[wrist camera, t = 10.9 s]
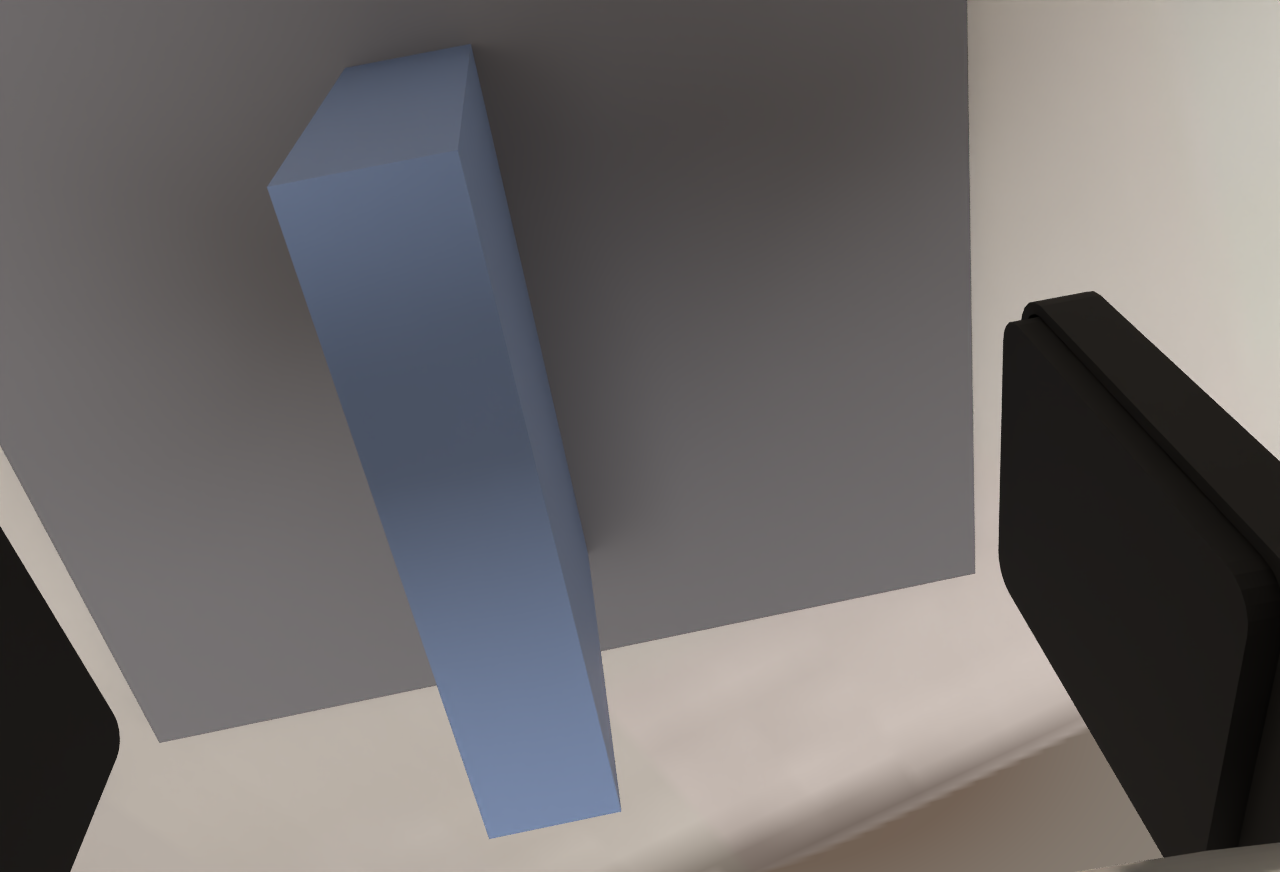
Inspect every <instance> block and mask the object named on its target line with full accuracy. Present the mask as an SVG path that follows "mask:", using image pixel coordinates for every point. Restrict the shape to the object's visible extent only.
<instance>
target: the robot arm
mask: <svg viewBox="0 0 1280 872" xmlns="http://www.w3.org/2000/svg"><path fill="white" fill-rule="evenodd" d="M998 551H999V563H1000V569H1001V573H1002V576H1003V579H1004V582H1005V585H1006V587H1007V589H1008V591H1009V593H1010V595H1011V597H1012V599H1013V600H1014V602H1015V604H1016V605H1017V607H1018V609H1019V611H1020V612H1021V614H1022V616H1023V617H1024V619H1025V621H1026V623H1027V624H1028V626H1029V628H1030V629H1031V631H1032V633H1033V635H1034V636H1035V638H1036V640H1037V641H1038V643H1039V645H1040V647H1041V648H1042V650H1043V652H1044V653H1045V655H1046V657H1047V659H1048V660H1049V662H1050V664H1051V665H1052V667H1053V669H1054V670H1055V672H1056V674H1057V676H1058V677H1059V679H1060V681H1061V682H1062V684H1063V686H1064V688H1065V689H1066V691H1067V693H1068V694H1069V696H1070V698H1071V700H1072V701H1073V703H1074V705H1075V706H1076V708H1077V710H1078V712H1079V713H1080V715H1081V717H1082V718H1083V720H1084V722H1085V724H1086V725H1087V727H1088V729H1089V730H1090V732H1091V734H1092V735H1093V737H1094V739H1095V741H1096V742H1097V744H1098V746H1099V748H1100V749H1101V751H1102V753H1103V754H1104V756H1105V758H1106V760H1107V761H1108V763H1109V764H1110V766H1111V768H1112V770H1113V771H1114V773H1115V775H1116V777H1117V778H1118V780H1119V782H1120V783H1121V785H1122V787H1123V788H1124V790H1125V792H1126V794H1127V795H1128V797H1129V799H1130V801H1131V802H1132V804H1133V806H1134V807H1135V809H1136V811H1137V812H1138V814H1139V816H1140V818H1141V819H1142V821H1143V823H1144V825H1145V826H1146V828H1147V830H1148V831H1149V833H1150V835H1151V837H1152V838H1153V840H1154V842H1155V843H1156V845H1157V847H1158V849H1159V850H1160V852H1161V854H1162V855H1163V857H1164V858H1159V859H1154V860H1146V861H1140V862H1134V863H1128V864H1121V865H1115V866H1109V867H1103V868H1096V869H1090V870H1084V871H1078V872H1280V461H1279V460H1278V459H1277V458H1276V457H1275V456H1273V455H1272V454H1271V453H1270V452H1269V451H1268V450H1267V449H1266V448H1265V447H1264V446H1263V445H1262V444H1260V443H1259V442H1258V441H1257V440H1256V439H1255V438H1254V437H1253V436H1252V435H1251V434H1250V433H1249V432H1248V431H1246V430H1245V429H1244V428H1243V427H1242V426H1241V425H1240V424H1239V423H1238V422H1237V421H1236V420H1235V419H1233V418H1232V417H1231V416H1230V415H1229V414H1228V413H1227V412H1226V411H1225V410H1224V409H1223V408H1222V407H1221V406H1219V405H1218V404H1217V403H1216V402H1215V401H1214V400H1213V399H1212V398H1211V397H1210V396H1209V395H1208V394H1207V393H1205V392H1204V391H1203V390H1202V389H1201V388H1200V387H1199V386H1198V385H1197V384H1196V383H1195V382H1194V381H1192V380H1191V379H1190V378H1189V377H1188V376H1187V375H1186V374H1185V373H1184V372H1183V371H1182V370H1181V369H1180V368H1178V367H1177V366H1176V365H1175V364H1174V363H1173V362H1172V361H1171V360H1170V359H1169V358H1168V357H1167V356H1165V355H1164V354H1163V353H1162V352H1161V351H1160V350H1159V349H1158V348H1157V347H1156V346H1155V345H1154V344H1153V343H1151V342H1150V341H1149V340H1148V339H1147V338H1146V337H1145V336H1144V335H1143V334H1142V333H1141V332H1140V331H1138V330H1137V329H1136V328H1135V327H1134V326H1133V325H1132V324H1131V323H1130V322H1129V321H1128V320H1127V319H1126V318H1124V317H1123V316H1122V315H1121V314H1120V313H1119V312H1118V311H1117V310H1116V309H1115V308H1114V307H1113V306H1111V305H1110V304H1109V303H1108V302H1107V301H1106V300H1105V299H1104V298H1103V297H1102V296H1101V295H1099V294H1097V293H1096V292H1094V291H1091V292H1084V293H1078V294H1073V295H1068V296H1062V297H1057V298H1052V299H1046V300H1041V301H1035V302H1030V303H1028V304H1027V306H1026V307H1025V308H1024V311H1023V314H1022V319H1021V320H1020V321H1014V322H1009V323H1008V324H1007V326H1006V328H1005V331H1004V339H1003V375H1002V419H1001V462H1000V506H999V549H998ZM119 744H120V736H119V728H118V724H117V720H116V718H115V716H114V714H113V712H112V711H111V709H110V707H109V706H108V704H107V702H106V701H105V699H104V697H103V696H102V694H101V692H100V691H99V689H98V687H97V686H96V684H95V682H94V681H93V679H92V677H91V676H90V674H89V673H88V671H87V669H86V668H85V666H84V664H83V663H82V661H81V659H80V658H79V656H78V654H77V653H76V651H75V649H74V648H73V646H72V644H71V643H70V641H69V639H68V638H67V636H66V634H65V633H64V631H63V629H62V628H61V626H60V625H59V623H58V621H57V620H56V618H55V616H54V615H53V613H52V611H51V610H50V608H49V606H48V605H47V603H46V601H45V600H44V598H43V596H42V595H41V593H40V591H39V590H38V588H37V586H36V585H35V583H34V581H33V580H32V578H31V576H30V575H29V573H28V572H27V570H26V568H25V567H24V565H23V563H22V562H21V560H20V558H19V557H18V555H17V553H16V552H15V550H14V548H13V547H12V545H11V543H10V542H9V540H8V538H7V537H6V535H5V533H4V532H3V530H2V528H1V527H0V872H70V871H71V869H72V866H73V864H74V861H75V859H76V856H77V854H78V851H79V849H80V846H81V844H82V842H83V839H84V837H85V834H86V832H87V829H88V827H89V824H90V822H91V819H92V817H93V815H94V812H95V810H96V807H97V805H98V802H99V800H100V797H101V795H102V793H103V790H104V788H105V785H106V783H107V780H108V778H109V775H110V773H111V770H112V768H113V766H114V763H115V761H116V758H117V755H118V751H119Z"/></svg>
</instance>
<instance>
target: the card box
mask: <svg viewBox="0 0 1280 872" xmlns="http://www.w3.org/2000/svg"><path fill="white" fill-rule="evenodd" d="M267 189H268V192H269V195H270V197H271V200H272V203H273V206H274V209H275V212H276V215H277V218H278V221H279V224H280V227H281V230H282V233H283V236H284V239H285V241H286V244H287V247H288V250H289V253H290V256H291V259H292V262H293V265H294V268H295V271H296V274H297V277H298V280H299V282H300V285H301V288H302V291H303V294H304V297H305V300H306V303H307V306H308V309H309V312H310V315H311V318H312V321H313V324H314V326H315V329H316V332H317V335H318V338H319V341H320V344H321V347H322V350H323V353H324V356H325V359H326V362H327V365H328V367H329V370H330V373H331V376H332V379H333V382H334V385H335V388H336V391H337V394H338V397H339V400H340V403H341V406H342V409H343V411H344V414H345V417H346V420H347V423H348V426H349V429H350V432H351V435H352V438H353V441H354V444H355V447H356V450H357V452H358V455H359V458H360V461H361V464H362V467H363V470H364V473H365V476H366V479H367V482H368V485H369V488H370V491H371V494H372V496H373V499H374V502H375V505H376V508H377V511H378V514H379V517H380V520H381V523H382V526H383V529H384V532H385V535H386V538H387V540H388V543H389V546H390V549H391V552H392V555H393V558H394V561H395V564H396V567H397V570H398V573H399V576H400V579H401V581H402V584H403V587H404V590H405V593H406V596H407V599H408V602H409V605H410V608H411V611H412V614H413V617H414V620H415V623H416V625H417V628H418V631H419V634H420V637H421V640H422V643H423V646H424V649H425V652H426V655H427V658H428V661H429V664H430V666H431V669H432V672H433V675H434V678H435V681H436V684H437V687H438V690H439V693H440V696H441V699H442V702H443V705H444V708H445V710H446V713H447V716H448V719H449V722H450V725H451V728H452V731H453V734H454V737H455V740H456V743H457V746H458V749H459V751H460V754H461V757H462V760H463V763H464V766H465V769H466V772H467V775H468V778H469V781H470V784H471V787H472V790H473V793H474V795H475V798H476V801H477V804H478V807H479V810H480V813H481V816H482V819H483V822H484V825H485V828H486V831H487V834H488V837H489V839H491V838H496V837H501V836H506V835H511V834H515V833H520V832H525V831H530V830H535V829H539V828H544V827H549V826H554V825H559V824H563V823H568V822H573V821H578V820H583V819H587V818H592V817H597V816H602V815H606V814H611V813H616V812H621V805H620V797H619V789H618V782H617V774H616V766H615V758H614V751H613V743H612V735H611V727H610V720H609V712H608V704H607V696H606V689H605V681H604V673H603V665H602V658H601V650H600V642H599V634H598V627H597V619H596V611H595V603H594V596H593V588H592V580H591V572H590V565H589V557H588V551H587V547H586V543H585V538H584V534H583V530H582V525H581V521H580V517H579V512H578V508H577V504H576V499H575V495H574V491H573V486H572V482H571V477H570V473H569V469H568V464H567V460H566V456H565V451H564V447H563V443H562V438H561V434H560V430H559V425H558V421H557V417H556V412H555V408H554V404H553V399H552V395H551V391H550V386H549V382H548V377H547V373H546V369H545V364H544V360H543V356H542V351H541V347H540V343H539V338H538V334H537V330H536V325H535V321H534V317H533V312H532V308H531V304H530V299H529V295H528V290H527V286H526V282H525V277H524V273H523V269H522V264H521V260H520V256H519V251H518V247H517V243H516V238H515V234H514V230H513V225H512V221H511V217H510V212H509V208H508V204H507V199H506V195H505V190H504V186H503V182H502V177H501V173H500V169H499V164H498V160H497V156H496V151H495V147H494V143H493V138H492V134H491V130H490V125H489V121H488V117H487V112H486V108H485V103H484V99H483V95H482V90H481V86H480V82H479V77H478V73H477V69H476V64H475V60H474V56H473V51H472V47H471V44H467V45H462V46H457V47H451V48H446V49H441V50H436V51H431V52H425V53H420V54H415V55H410V56H405V57H399V58H394V59H389V60H384V61H378V62H373V63H368V64H363V65H358V66H352V67H347V68H345V69H344V70H343V72H342V73H341V75H340V76H339V78H338V80H337V81H336V83H335V84H334V86H333V87H332V89H331V90H330V92H329V93H328V95H327V96H326V98H325V99H324V101H323V102H322V104H321V105H320V107H319V108H318V110H317V112H316V113H315V115H314V116H313V118H312V119H311V121H310V122H309V124H308V125H307V127H306V128H305V130H304V131H303V133H302V134H301V136H300V137H299V139H298V140H297V142H296V144H295V145H294V147H293V148H292V150H291V151H290V153H289V154H288V156H287V157H286V159H285V160H284V162H283V163H282V165H281V166H280V168H279V169H278V171H277V172H276V174H275V176H274V177H273V179H272V180H271V182H270V183H269V185H268V186H267Z"/></svg>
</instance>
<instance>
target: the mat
mask: <svg viewBox="0 0 1280 872" xmlns="http://www.w3.org/2000/svg"><path fill="white" fill-rule="evenodd" d="M467 44H471V47H472V51H473V56H474V60H475V64H476V69H477V73H478V77H479V82H480V86H481V90H482V95H483V99H484V103H485V108H486V112H487V117H488V121H489V125H490V130H491V134H492V138H493V143H494V147H495V151H496V156H497V160H498V164H499V169H500V173H501V177H502V182H503V186H504V190H505V195H506V199H507V204H508V208H509V212H510V217H511V221H512V225H513V230H514V234H515V238H516V243H517V247H518V251H519V256H520V260H521V264H522V269H523V273H524V277H525V282H526V286H527V290H528V295H529V299H530V304H531V308H532V312H533V317H534V321H535V325H536V330H537V334H538V338H539V343H540V347H541V351H542V356H543V360H544V364H545V369H546V373H547V377H548V382H549V386H550V391H551V395H552V399H553V404H554V408H555V412H556V417H557V421H558V425H559V430H560V434H561V438H562V443H563V447H564V451H565V456H566V460H567V464H568V469H569V473H570V477H571V482H572V486H573V491H574V495H575V499H576V504H577V508H578V512H579V517H580V521H581V525H582V530H583V534H584V538H585V543H586V547H587V551H588V557H589V565H590V572H591V580H592V588H593V596H594V603H595V611H596V619H597V627H598V634H599V642H600V650H601V651H604V650H609V649H614V648H619V647H623V646H628V645H633V644H638V643H643V642H647V641H652V640H657V639H662V638H667V637H671V636H676V635H681V634H686V633H691V632H696V631H700V630H705V629H710V628H715V627H720V626H724V625H729V624H734V623H739V622H744V621H748V620H753V619H758V618H763V617H768V616H773V615H777V614H782V613H787V612H792V611H797V610H801V609H806V608H811V607H816V606H821V605H825V604H830V603H835V602H840V601H845V600H850V599H854V598H859V597H864V596H869V595H874V594H878V593H883V592H888V591H893V590H898V589H902V588H907V587H912V586H917V585H922V584H927V583H931V582H936V581H941V580H946V579H951V578H955V577H960V576H965V575H970V574H975V526H974V458H973V389H972V320H971V251H970V182H969V114H968V45H967V0H0V446H1V447H2V449H3V451H4V453H5V455H6V457H7V459H8V461H9V462H10V464H11V466H12V468H13V470H14V472H15V474H16V475H17V477H18V479H19V481H20V483H21V485H22V487H23V489H24V490H25V492H26V494H27V496H28V498H29V500H30V502H31V504H32V505H33V507H34V509H35V511H36V513H37V515H38V517H39V518H40V520H41V522H42V524H43V526H44V528H45V530H46V532H47V533H48V535H49V537H50V539H51V541H52V543H53V545H54V547H55V548H56V550H57V552H58V554H59V556H60V558H61V560H62V561H63V563H64V565H65V567H66V569H67V571H68V573H69V575H70V576H71V578H72V580H73V582H74V584H75V586H76V588H77V590H78V591H79V593H80V595H81V597H82V599H83V601H84V603H85V604H86V606H87V608H88V610H89V612H90V614H91V616H92V618H93V619H94V621H95V623H96V625H97V627H98V629H99V631H100V633H101V634H102V636H103V638H104V640H105V642H106V644H107V646H108V647H109V649H110V651H111V653H112V655H113V657H114V659H115V661H116V662H117V664H118V666H119V668H120V670H121V672H122V674H123V676H124V677H125V679H126V681H127V683H128V685H129V687H130V689H131V690H132V692H133V694H134V696H135V698H136V700H137V702H138V704H139V705H140V707H141V709H142V711H143V713H144V715H145V717H146V718H147V720H148V722H149V724H150V726H151V728H152V730H153V732H154V733H155V735H156V737H157V739H158V741H159V743H161V742H166V741H171V740H176V739H181V738H185V737H190V736H195V735H200V734H205V733H209V732H214V731H219V730H224V729H229V728H233V727H238V726H243V725H248V724H253V723H258V722H262V721H267V720H272V719H277V718H282V717H286V716H291V715H296V714H301V713H306V712H310V711H315V710H320V709H325V708H330V707H335V706H339V705H344V704H349V703H354V702H359V701H363V700H368V699H373V698H378V697H383V696H388V695H392V694H397V693H402V692H407V691H412V690H416V689H421V688H426V687H431V686H436V685H437V684H436V681H435V678H434V675H433V672H432V669H431V666H430V664H429V661H428V658H427V655H426V652H425V649H424V646H423V643H422V640H421V637H420V634H419V631H418V628H417V625H416V623H415V620H414V617H413V614H412V611H411V608H410V605H409V602H408V599H407V596H406V593H405V590H404V587H403V584H402V581H401V579H400V576H399V573H398V570H397V567H396V564H395V561H394V558H393V555H392V552H391V549H390V546H389V543H388V540H387V538H386V535H385V532H384V529H383V526H382V523H381V520H380V517H379V514H378V511H377V508H376V505H375V502H374V499H373V496H372V494H371V491H370V488H369V485H368V482H367V479H366V476H365V473H364V470H363V467H362V464H361V461H360V458H359V455H358V452H357V450H356V447H355V444H354V441H353V438H352V435H351V432H350V429H349V426H348V423H347V420H346V417H345V414H344V411H343V409H342V406H341V403H340V400H339V397H338V394H337V391H336V388H335V385H334V382H333V379H332V376H331V373H330V370H329V367H328V365H327V362H326V359H325V356H324V353H323V350H322V347H321V344H320V341H319V338H318V335H317V332H316V329H315V326H314V324H313V321H312V318H311V315H310V312H309V309H308V306H307V303H306V300H305V297H304V294H303V291H302V288H301V285H300V282H299V280H298V277H297V274H296V271H295V268H294V265H293V262H292V259H291V256H290V253H289V250H288V247H287V244H286V241H285V239H284V236H283V233H282V230H281V227H280V224H279V221H278V218H277V215H276V212H275V209H274V206H273V203H272V200H271V197H270V195H269V192H268V189H267V186H268V185H269V183H270V182H271V180H272V179H273V177H274V176H275V174H276V172H277V171H278V169H279V168H280V166H281V165H282V163H283V162H284V160H285V159H286V157H287V156H288V154H289V153H290V151H291V150H292V148H293V147H294V145H295V144H296V142H297V140H298V139H299V137H300V136H301V134H302V133H303V131H304V130H305V128H306V127H307V125H308V124H309V122H310V121H311V119H312V118H313V116H314V115H315V113H316V112H317V110H318V108H319V107H320V105H321V104H322V102H323V101H324V99H325V98H326V96H327V95H328V93H329V92H330V90H331V89H332V87H333V86H334V84H335V83H336V81H337V80H338V78H339V76H340V75H341V73H342V72H343V70H344V69H345V68H347V67H352V66H358V65H363V64H368V63H373V62H378V61H384V60H389V59H394V58H399V57H405V56H410V55H415V54H420V53H425V52H431V51H436V50H441V49H446V48H451V47H457V46H462V45H467Z"/></svg>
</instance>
